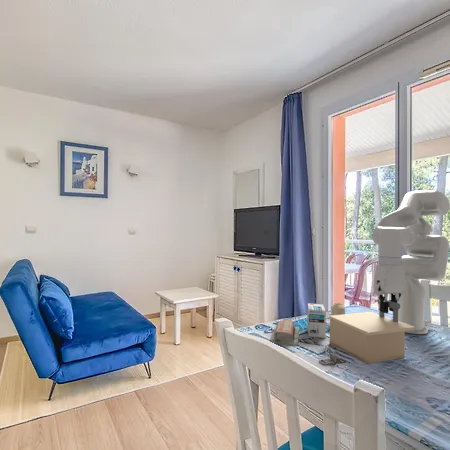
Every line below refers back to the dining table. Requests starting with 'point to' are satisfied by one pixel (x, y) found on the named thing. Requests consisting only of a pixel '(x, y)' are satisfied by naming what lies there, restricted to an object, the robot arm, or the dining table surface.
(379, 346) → the kraft carton
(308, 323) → the light bulb box
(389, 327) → the carton lid
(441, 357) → the dining table surface
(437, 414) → the dining table surface
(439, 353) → the dining table surface
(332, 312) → the candle
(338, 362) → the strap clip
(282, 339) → the packaged product
